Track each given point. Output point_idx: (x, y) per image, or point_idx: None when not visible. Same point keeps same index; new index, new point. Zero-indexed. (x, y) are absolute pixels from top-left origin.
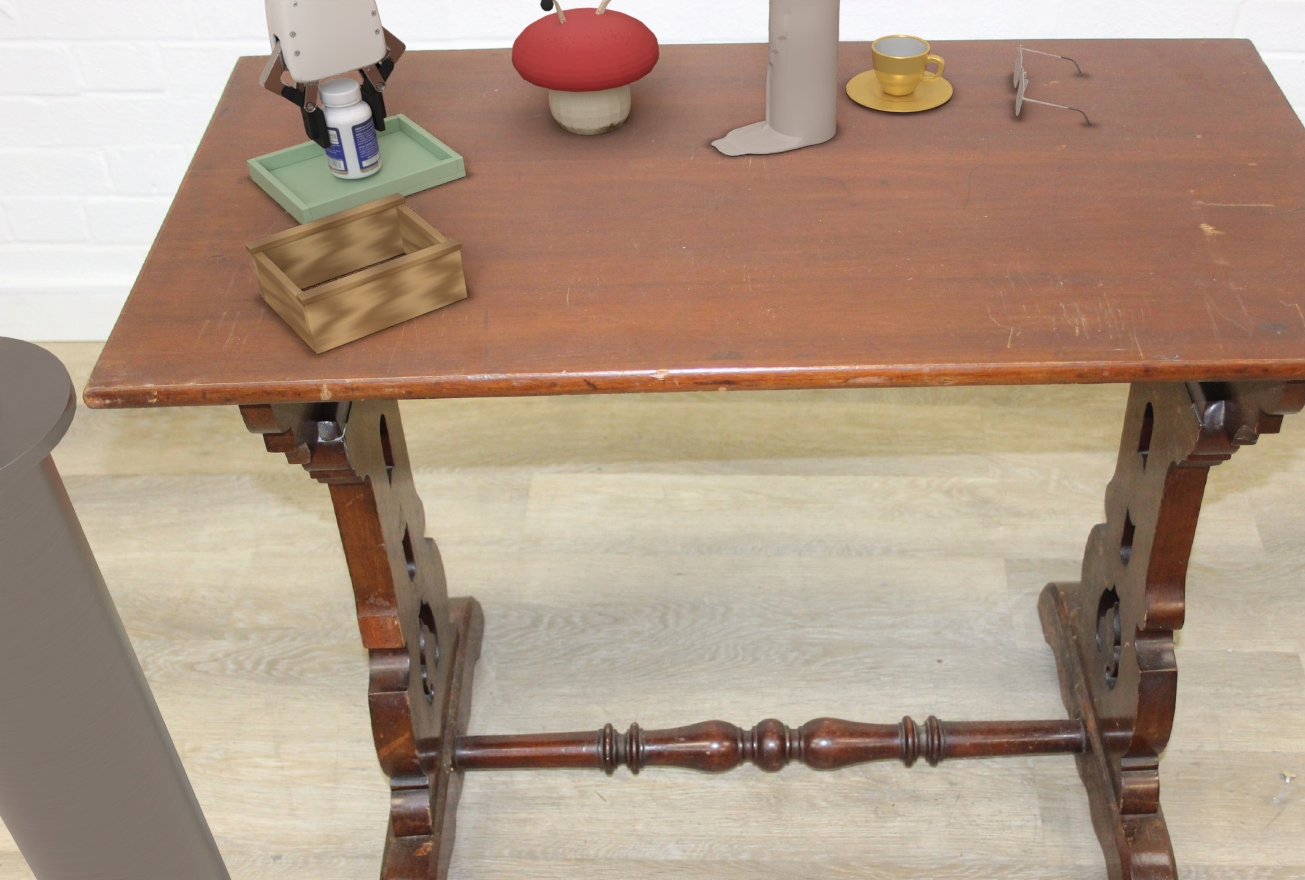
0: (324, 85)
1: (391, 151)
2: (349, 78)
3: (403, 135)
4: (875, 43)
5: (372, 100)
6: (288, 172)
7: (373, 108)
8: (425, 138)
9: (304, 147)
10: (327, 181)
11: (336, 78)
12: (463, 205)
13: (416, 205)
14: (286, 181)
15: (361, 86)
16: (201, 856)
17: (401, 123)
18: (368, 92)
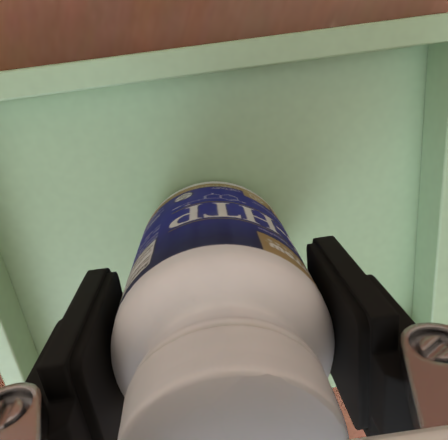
0: (163, 428)
1: (337, 170)
2: (329, 406)
3: (414, 85)
4: None
5: (350, 413)
6: (35, 145)
7: (336, 382)
8: (435, 224)
9: (96, 87)
10: (129, 250)
11: (261, 377)
12: (350, 432)
13: None
14: (22, 196)
15: (370, 327)
16: None
17: (442, 59)
18: (365, 393)
